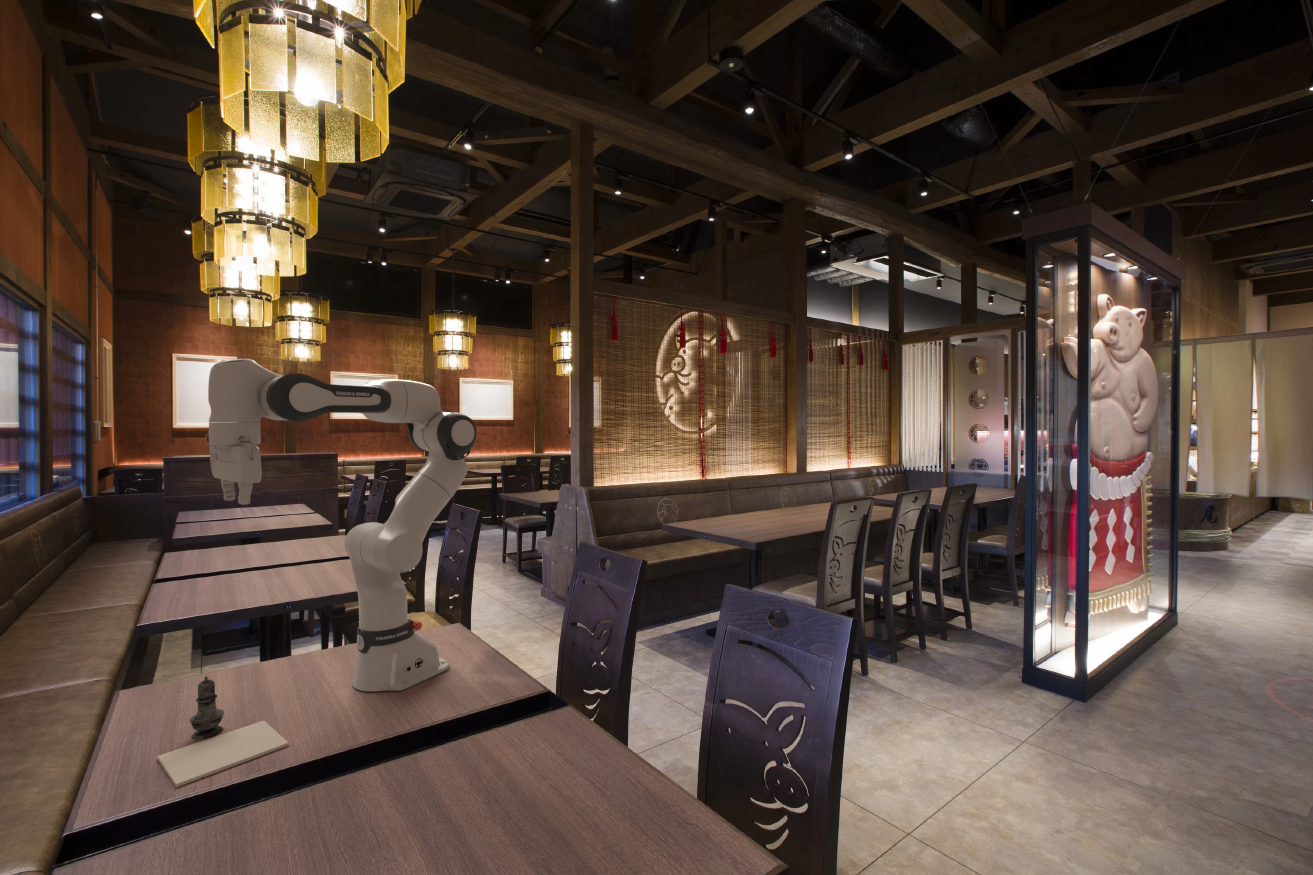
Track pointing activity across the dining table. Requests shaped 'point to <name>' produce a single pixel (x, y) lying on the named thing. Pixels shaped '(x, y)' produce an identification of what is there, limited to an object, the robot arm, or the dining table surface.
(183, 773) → the placemat
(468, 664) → the dining table surface
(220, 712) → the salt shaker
